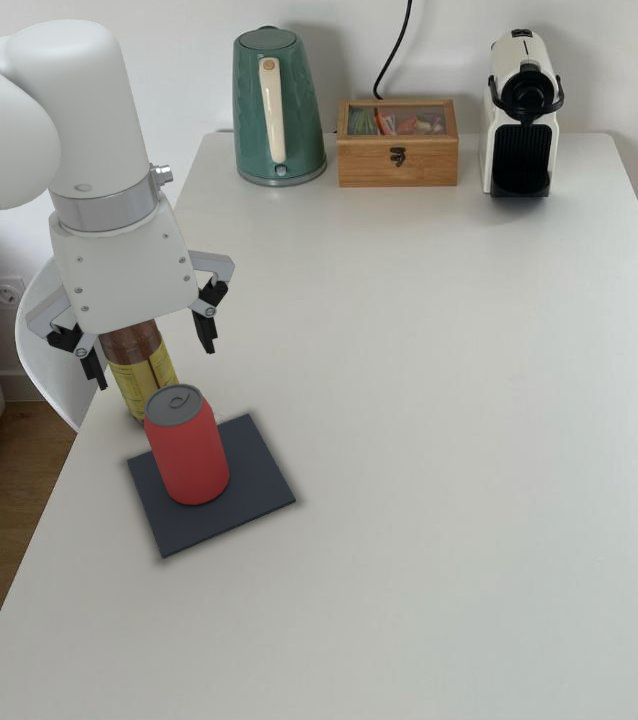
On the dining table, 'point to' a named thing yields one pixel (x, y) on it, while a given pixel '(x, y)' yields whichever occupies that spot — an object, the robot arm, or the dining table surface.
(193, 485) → the beer can
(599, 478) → the dining table surface
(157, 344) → the sauce bottle
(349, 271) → the dining table surface
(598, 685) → the dining table surface
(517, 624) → the dining table surface
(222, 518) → the mat
